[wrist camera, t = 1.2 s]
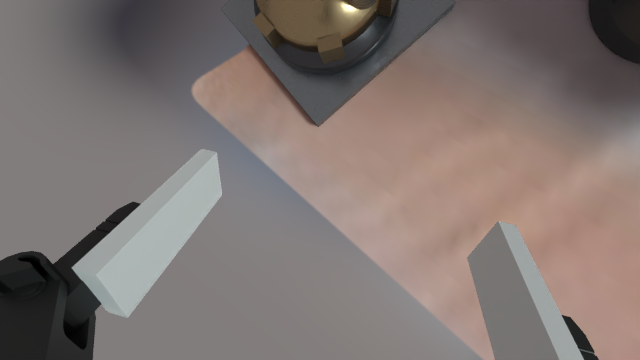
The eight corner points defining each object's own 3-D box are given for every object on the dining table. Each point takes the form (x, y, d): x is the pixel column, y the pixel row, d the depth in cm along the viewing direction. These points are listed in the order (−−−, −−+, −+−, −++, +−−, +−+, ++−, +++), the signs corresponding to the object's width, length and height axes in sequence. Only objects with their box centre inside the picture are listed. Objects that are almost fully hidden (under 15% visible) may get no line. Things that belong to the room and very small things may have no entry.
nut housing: (340, -107, 35) (335, -147, 31) (451, 9, 33) (463, -17, 28) (226, 15, 39) (207, -5, 35) (318, 126, 37) (311, 120, 32)
